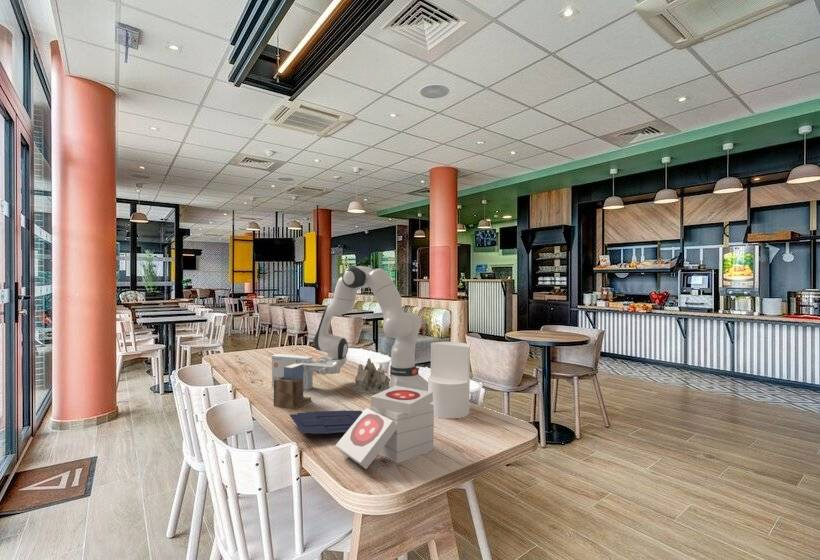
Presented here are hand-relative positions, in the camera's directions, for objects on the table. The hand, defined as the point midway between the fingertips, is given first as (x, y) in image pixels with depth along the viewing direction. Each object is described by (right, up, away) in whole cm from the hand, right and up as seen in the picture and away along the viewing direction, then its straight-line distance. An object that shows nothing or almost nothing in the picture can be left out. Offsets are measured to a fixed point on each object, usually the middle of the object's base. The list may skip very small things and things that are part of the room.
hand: (309, 370), depth 191 cm
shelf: (-4, -12, -12) cm, 17 cm away
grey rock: (+28, -12, +10) cm, 32 cm away
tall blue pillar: (-4, -10, -11) cm, 16 cm away
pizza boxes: (+41, -13, -61) cm, 75 cm away
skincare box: (-12, -12, +15) cm, 22 cm away
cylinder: (+64, -12, -22) cm, 68 cm away
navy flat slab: (+19, -13, -39) cm, 45 cm away
